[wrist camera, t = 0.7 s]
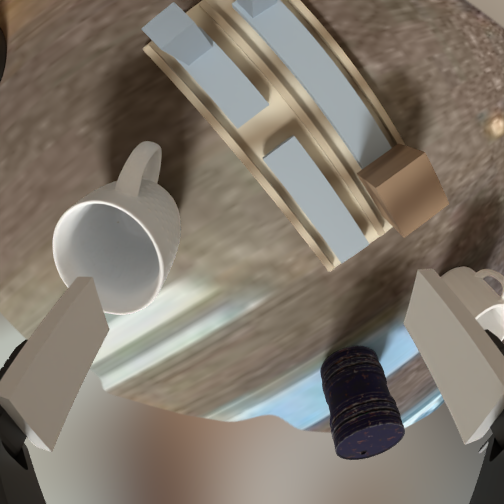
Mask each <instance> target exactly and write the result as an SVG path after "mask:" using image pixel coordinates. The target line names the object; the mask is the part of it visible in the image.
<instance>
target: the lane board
mask: <svg viewBox="0 0 504 504" xmlns="http://www.w3.org/2000/svg"><path fill="white" fill-rule="evenodd" d="M235 1H236V0H202V1H201V2H199V3H198V4H197V5H195V6H194V7H193V8H191V9H190V10H189V11H187V12H186V14H187V15H188V16H189V17H190V18H191V19H192V20H193V21H194V22H195V24H196V25H197V26H198V27H201V28H202V29H203V30H204V31H205V32H206V33H207V34H208V36H209V37H210V38H211V39H212V40H213V41H214V42H215V43H216V44H217V45H218V46H219V47H220V48H221V49H222V50H223V52H224V53H225V54H226V55H227V56H228V57H229V58H230V59H231V60H232V61H233V63H234V64H235V65H236V66H237V67H238V68H239V69H240V70H241V72H242V73H243V74H244V75H245V76H246V77H247V78H248V80H249V81H250V82H251V83H252V84H253V85H254V87H255V88H256V89H257V90H258V91H259V92H260V94H261V95H262V96H263V97H264V98H265V100H266V101H267V102H268V103H269V106H267V107H266V108H265V109H263V110H262V111H261V112H259V113H258V114H257V115H255V116H254V117H253V118H251V119H250V120H249V121H247V122H246V123H245V124H243V125H242V126H241V127H240V128H238V129H237V128H236V127H235V125H234V124H233V123H232V122H231V121H230V119H229V118H228V117H227V116H226V115H225V114H224V112H223V111H222V110H221V109H220V108H219V107H218V105H217V104H216V103H215V102H214V101H213V100H212V99H211V97H210V96H209V95H208V94H207V93H206V92H205V91H204V90H203V88H202V87H201V86H200V85H199V84H198V83H197V82H196V81H195V79H194V78H193V77H192V76H191V75H190V74H189V73H188V72H187V71H186V70H185V68H184V67H183V66H182V65H181V64H180V63H179V62H178V61H177V60H176V59H175V58H174V57H173V56H171V55H170V54H168V53H166V52H164V51H163V50H161V49H160V48H159V47H158V46H157V45H156V44H155V43H154V42H153V41H151V42H150V43H148V44H147V45H146V46H145V47H144V48H143V50H144V52H145V53H146V54H147V55H148V56H149V57H150V58H151V59H152V60H153V61H154V62H155V63H156V64H157V65H158V67H159V68H160V69H161V70H162V71H163V72H164V73H165V74H166V75H167V76H168V77H169V79H170V80H171V81H172V82H173V83H174V84H175V85H176V86H177V87H178V89H179V90H180V91H181V92H182V93H183V94H184V95H185V96H186V97H187V99H188V100H189V101H190V102H191V103H192V104H193V105H194V107H195V108H196V109H197V110H198V111H199V112H200V113H201V115H202V116H203V117H204V118H205V119H206V120H207V121H208V123H209V124H210V125H211V126H212V127H213V128H214V130H215V131H216V132H217V133H218V134H219V135H220V137H221V138H222V139H223V140H224V141H225V142H226V144H227V145H228V146H229V147H230V148H231V149H232V151H233V152H234V153H235V154H236V155H237V157H238V158H239V159H240V160H241V161H242V163H243V164H244V165H245V166H246V167H247V169H248V170H249V171H250V172H251V173H252V175H253V176H254V177H255V178H256V180H257V181H258V182H259V183H260V184H261V186H262V187H263V188H264V189H265V191H266V192H267V193H268V194H269V196H270V197H271V198H272V199H273V201H274V202H275V203H276V204H277V206H278V207H279V208H280V209H281V211H282V212H283V213H284V214H285V216H286V217H287V218H288V219H289V221H290V222H291V223H292V224H293V226H294V227H295V228H296V230H297V231H298V232H299V233H300V235H301V236H302V237H303V239H304V240H305V241H306V242H307V244H308V245H309V246H310V248H311V249H312V250H313V252H314V253H315V254H316V255H317V257H318V258H319V259H320V261H321V262H322V263H323V265H324V266H325V267H326V269H327V270H328V271H329V272H330V271H332V270H333V269H335V267H336V266H338V265H339V264H341V262H340V261H339V259H338V258H337V256H336V255H335V254H334V252H333V251H332V249H331V248H330V247H329V245H328V244H327V243H326V241H325V240H324V238H323V237H322V236H321V234H320V233H319V232H318V230H317V229H316V228H315V226H314V225H313V224H312V222H311V221H310V220H309V218H308V217H307V216H306V214H305V213H304V212H303V210H302V209H301V208H300V206H299V205H298V204H297V202H296V201H295V200H294V199H293V197H292V196H291V195H290V193H289V192H288V191H287V189H286V188H285V187H284V186H283V184H282V183H281V182H280V181H279V179H278V178H277V177H276V175H275V174H274V173H273V172H272V170H271V169H270V168H269V167H268V165H267V164H266V163H265V162H264V160H263V158H262V157H264V156H265V155H266V154H268V153H269V152H270V151H272V150H273V149H274V148H276V147H277V146H278V145H280V144H281V143H282V142H284V141H285V140H286V139H288V138H289V137H291V136H292V135H294V136H295V137H296V139H297V140H298V141H299V143H300V144H301V145H302V147H303V148H304V149H305V151H306V152H307V153H308V155H309V156H310V157H311V159H312V160H313V161H314V163H315V164H316V165H317V167H318V168H319V170H320V171H321V172H322V174H323V175H324V177H325V178H326V179H327V181H328V182H329V184H330V185H331V187H332V188H333V189H334V191H335V192H336V194H337V195H338V197H339V198H340V200H341V201H342V203H343V204H344V206H345V207H346V208H347V210H348V211H349V213H350V215H351V216H352V218H353V219H354V221H355V222H356V224H357V225H358V227H359V228H360V230H361V231H362V233H363V235H364V236H365V238H366V239H367V241H368V242H369V244H370V243H371V242H372V241H374V240H375V239H377V238H378V237H381V236H382V235H384V234H385V232H387V231H388V230H389V229H391V228H392V227H393V226H392V225H391V224H390V223H389V222H388V221H387V220H386V219H385V218H384V217H383V216H382V215H381V213H380V211H379V210H378V208H377V206H376V205H375V203H374V201H373V200H372V198H371V196H370V195H369V193H368V192H367V190H366V188H365V187H364V185H363V184H362V182H361V180H360V179H359V177H358V176H357V174H356V173H358V172H359V171H360V170H362V169H361V168H360V166H359V164H358V163H357V161H356V160H355V158H354V157H353V155H352V154H351V152H350V151H349V149H348V148H347V146H346V145H345V143H344V142H343V140H342V139H341V138H340V136H339V135H338V133H337V132H336V130H335V129H334V128H333V126H332V125H331V123H330V122H329V121H328V119H327V118H326V117H325V115H324V114H323V112H322V111H321V110H320V108H319V107H318V106H317V104H316V103H315V102H314V100H313V99H312V98H311V97H310V95H309V94H308V93H307V91H306V90H305V89H304V88H303V86H302V85H301V84H300V83H299V81H298V80H297V79H296V78H295V76H294V75H293V74H292V73H291V71H290V70H289V69H288V68H287V67H286V65H285V64H284V63H283V62H282V61H281V59H280V58H279V57H278V56H277V55H276V54H275V53H274V51H273V50H272V49H271V48H270V47H269V46H268V45H267V43H266V42H265V41H264V40H263V39H262V38H261V37H260V36H259V35H258V34H257V32H256V31H255V30H254V29H253V28H252V27H251V26H250V25H249V24H248V23H247V22H246V21H245V20H244V19H243V18H242V17H241V16H240V15H239V14H238V12H237V11H236V10H235V9H234V8H233V7H232V3H233V2H235ZM280 1H281V2H282V3H283V4H284V5H285V6H286V7H287V8H288V9H289V10H290V11H291V12H292V13H293V14H294V15H295V17H296V18H297V19H298V20H299V21H300V22H301V23H302V24H303V26H304V27H305V28H306V29H307V30H308V31H309V32H310V34H311V35H312V36H313V37H314V38H315V40H316V41H317V42H318V43H319V44H320V46H321V47H322V48H323V49H324V50H325V52H326V53H327V54H328V55H329V57H330V58H331V59H332V61H333V62H334V63H335V64H336V66H337V67H338V68H339V70H340V71H341V72H342V74H343V75H344V76H345V78H346V79H347V81H348V82H349V83H350V85H351V86H352V87H353V89H354V90H355V92H356V93H357V95H358V96H359V97H360V99H361V100H362V102H363V103H364V105H365V106H366V108H367V109H368V111H369V112H370V114H371V115H372V117H373V118H374V120H375V121H376V123H377V125H378V126H379V128H380V129H381V131H382V133H383V134H384V136H385V138H386V139H387V141H388V142H389V144H390V146H391V148H393V147H394V146H396V145H397V144H398V143H399V144H402V145H405V143H404V141H403V140H402V138H401V136H400V135H399V133H398V131H397V129H396V128H395V126H394V124H393V123H392V121H391V119H390V118H389V116H388V115H387V113H386V111H385V110H384V108H383V107H382V105H381V104H380V102H379V101H378V99H377V97H376V96H375V94H374V93H373V91H372V90H371V89H370V87H369V86H368V84H367V83H366V81H365V80H364V78H363V77H362V76H361V74H360V73H359V71H358V70H357V69H356V67H355V66H354V65H353V63H352V62H351V61H350V59H349V58H348V57H347V55H346V54H345V53H344V51H343V50H342V49H341V48H340V46H339V45H338V44H337V42H336V41H335V40H334V39H333V38H332V36H331V35H330V34H329V33H328V31H327V30H326V29H325V28H324V27H323V25H322V24H321V23H320V22H319V21H318V20H317V19H316V17H315V16H314V15H313V14H312V13H311V12H310V11H309V10H308V8H307V7H306V6H305V5H304V4H303V3H302V2H301V1H300V0H280ZM405 146H406V145H405Z"/></svg>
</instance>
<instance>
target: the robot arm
mask: <svg viewBox="0 0 504 504" xmlns="http://www.w3.org/2000/svg"><path fill="white" fill-rule="evenodd" d="M5 58H6V44H5V38H4V35H3V32H2V30H1V29H0V81H1V78H2V74H3V70H4V65H5ZM404 325H405V327H406V329H407V331H408V332H409V334H410V336H411V338H412V339H413V341H414V343H415V345H416V347H417V348H418V350H419V352H420V354H421V356H422V358H423V360H424V361H425V363H426V365H427V367H428V369H429V371H430V373H431V375H432V377H433V379H434V381H435V383H436V385H437V387H438V389H439V391H440V393H441V395H442V397H443V399H444V401H445V403H446V405H447V407H448V409H449V411H450V413H451V415H452V417H453V420H454V422H455V424H456V426H457V428H458V430H459V433H460V435H461V437H462V440H463V442H464V444H468V443H470V442H473V441H475V440H478V439H480V438H482V437H483V436H484V434H485V433H486V432H487V431H488V429H489V428H491V430H492V432H493V434H492V436H491V437H490V438H489V439H488V440H487V441H486V443H485V444H484V445H483V446H482V447H481V448H480V450H479V453H482V451H483V450H484V449H485V448H486V447H487V450H486V453H485V454H484V455H485V457H484V461H483V464H482V468H481V471H480V474H479V477H478V480H477V483H476V486H475V490H474V492H473V495H472V498H471V500H470V503H469V504H504V344H503V343H502V342H501V340H500V339H499V338H498V337H497V336H496V335H495V334H493V333H492V332H491V331H489V330H488V329H486V330H484V329H483V328H482V326H481V325H480V324H479V323H478V321H477V320H476V319H475V318H474V316H473V315H472V314H471V313H470V311H469V310H468V309H467V308H466V307H465V305H464V304H463V303H462V302H461V301H460V299H459V298H458V297H457V296H456V295H455V293H454V292H453V291H452V290H451V289H450V288H449V286H448V285H447V284H446V283H445V282H444V281H443V280H442V278H441V277H440V276H439V275H438V274H437V273H436V272H435V271H434V270H433V269H420V270H418V271H417V275H416V279H415V283H414V287H413V291H412V295H411V299H410V303H409V306H408V310H407V313H406V317H405V320H404ZM108 331H109V327H108V324H107V321H106V318H105V315H104V312H103V309H102V306H101V303H100V300H99V296H98V293H97V290H96V286H95V283H94V279H93V277H77V278H76V279H75V280H74V282H73V283H72V284H71V285H70V286H69V288H68V289H67V290H66V291H65V293H64V294H63V295H62V296H61V297H60V299H59V300H58V301H57V302H56V304H55V305H54V306H53V308H52V309H51V310H50V311H49V313H48V314H47V315H46V317H45V318H44V319H43V321H42V322H41V323H40V325H39V326H38V327H37V329H36V330H35V331H34V333H33V334H32V335H31V337H30V338H29V339H28V340H25V341H23V342H22V343H21V344H20V345H19V346H17V347H16V348H15V350H14V351H13V352H12V354H11V355H10V357H9V359H7V361H6V362H5V364H4V367H2V368H1V370H0V504H46V502H45V500H44V497H43V494H42V491H41V489H40V486H39V483H38V480H37V477H36V474H35V471H34V468H33V465H32V461H31V458H30V455H29V451H28V449H27V447H26V445H25V444H24V441H25V439H26V437H27V438H28V439H29V440H30V441H31V442H32V443H33V444H34V446H36V447H38V448H41V449H44V450H47V451H50V452H52V451H53V449H54V446H55V444H56V441H57V439H58V437H59V434H60V431H61V429H62V427H63V425H64V423H65V420H66V418H67V415H68V413H69V411H70V409H71V407H72V404H73V402H74V400H75V398H76V396H77V394H78V392H79V389H80V387H81V385H82V383H83V381H84V379H85V377H86V375H87V373H88V371H89V369H90V367H91V365H92V363H93V361H94V359H95V357H96V355H97V353H98V351H99V349H100V347H101V345H102V343H103V341H104V339H105V337H106V335H107V333H108Z"/></svg>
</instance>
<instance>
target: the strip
mask: <svg viewBox="0 0 504 504" xmlns="http://www.w3.org/2000/svg"><path fill="white" fill-rule="evenodd" d="M232 7H233V8H234V9H235V10H236V11H237V12H238V14H239V15H240V16H241V17H242V18H243V19H244V20H245V21H246V22H247V23H248V24H249V25H250V26H251V27H252V28H253V29H254V30H255V31H256V32H257V34H258V35H259V36H260V37H261V38H262V39H263V40H264V41H265V42H266V43H267V45H268V46H269V47H270V48H271V49H272V50H273V51H274V53H275V54H276V55H277V56H278V57H279V58H280V59H281V61H282V62H283V63H284V64H285V65H286V67H287V68H288V69H289V70H290V71H291V73H292V74H293V75H294V76H295V78H296V79H297V80H298V81H299V83H300V84H301V85H302V86H303V88H304V89H305V90H306V91H307V93H308V94H309V95H310V97H311V98H312V99H313V100H314V102H315V103H316V104H317V106H318V107H319V108H320V110H321V111H322V112H323V114H324V115H325V117H326V118H327V119H328V121H329V122H330V123H331V125H332V126H333V128H334V129H335V130H336V132H337V133H338V135H339V136H340V138H341V139H342V140H343V142H344V143H345V145H346V146H347V148H348V149H349V151H350V152H351V154H352V155H353V157H354V158H355V160H356V161H357V163H358V164H359V166H360V168H361V169H363V168H365V167H366V166H367V165H369V164H370V163H372V162H373V161H375V160H376V159H377V158H379V157H380V156H382V155H383V154H384V153H386V152H387V151H389V150H390V149H391V146H390V144H389V142H388V141H387V139H386V138H385V136H384V134H383V133H382V131H381V129H380V128H379V126H378V125H377V123H376V121H375V120H374V118H373V117H372V115H371V114H370V112H369V111H368V109H367V108H366V106H365V105H364V103H363V102H362V100H361V99H360V97H359V96H358V95H357V93H356V92H355V90H354V89H353V87H352V86H351V85H350V83H349V82H348V81H347V79H346V78H345V76H344V75H343V74H342V72H341V71H340V70H339V68H338V67H337V66H336V64H335V63H334V62H333V61H332V59H331V58H330V57H329V55H328V54H327V53H326V52H325V50H324V49H323V48H322V47H321V46H320V44H319V43H318V42H317V41H316V40H315V38H314V37H313V36H312V35H311V34H310V32H309V31H308V30H307V29H306V28H305V27H304V26H303V24H302V23H301V22H300V21H299V20H298V19H297V18H296V17H295V15H294V14H293V13H292V12H291V11H290V10H289V9H288V8H287V7H286V6H285V5H284V4H283V3H282V2H281V1H280V0H236V1H235V2H233V3H232Z"/></svg>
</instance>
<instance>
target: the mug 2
mask: <svg viewBox="0 0 504 504" xmlns="http://www.w3.org/2000/svg"><path fill="white" fill-rule="evenodd" d="M486 276H491V277H494V278H495V279H497V280H498V281H499V282H500V283H501V284H502V287H503V292H502V295H501V297H500V296H499V295H498V294H497V293H496V292H495V291H494V290H493V289H492V288H491V287H490V286H489V285H488V284H487V283H486V282H485V281H484V280H483V278H484V277H486ZM441 278H442V280H443V281H444V282H445V283H446V284H447V285H448V286H449V288H450V289H451V290H452V291H453V292H454V293H455V295H456V296H457V297H458V298H459V299H460V301H461V302H462V303H463V304H464V305H465V307H466V308H467V309H468V310H469V311H470V313H471V314H472V315H473V316H474V318H475V319H476V320H477V321H478V323H479V324H480V325H481V326H482V328H483V329H484V330H486V329H488V330H489V331H491V332H492V333H493V334H495V335H496V336H497V337H498V338H499V339H500V340H501V342H502V340H503V339H504V276H503V275H501V274H500V273H498V272H496V271H494V270H490V269H482V270H480V271H478V272H475V271H474V270H472V269H471V268H469V267H464V266H463V267H456V268H454V269H451V270H449V271H448V272H446V273H445V274H443V275H442V276H441Z"/></svg>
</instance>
